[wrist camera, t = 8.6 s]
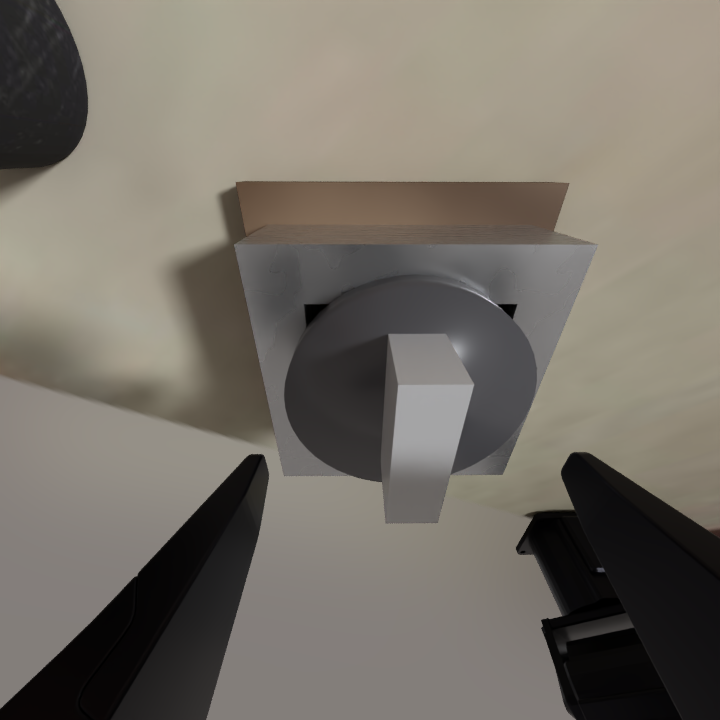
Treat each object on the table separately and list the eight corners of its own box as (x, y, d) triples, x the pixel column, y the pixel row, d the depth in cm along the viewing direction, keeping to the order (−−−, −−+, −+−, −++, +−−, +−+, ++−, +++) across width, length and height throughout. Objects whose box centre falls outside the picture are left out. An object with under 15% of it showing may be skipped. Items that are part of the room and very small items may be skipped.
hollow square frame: (475, 418, 18) (502, 474, 15) (297, 419, 18) (283, 476, 15) (531, 225, 12) (598, 244, 9) (267, 224, 12) (233, 244, 9)
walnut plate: (479, 422, 20) (486, 435, 19) (288, 423, 20) (284, 436, 19) (552, 182, 12) (569, 183, 11) (245, 181, 12) (235, 182, 11)
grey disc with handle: (469, 416, 17) (527, 543, 11) (310, 417, 17) (286, 546, 11) (513, 252, 12) (659, 326, 6) (291, 252, 12) (230, 327, 6)
